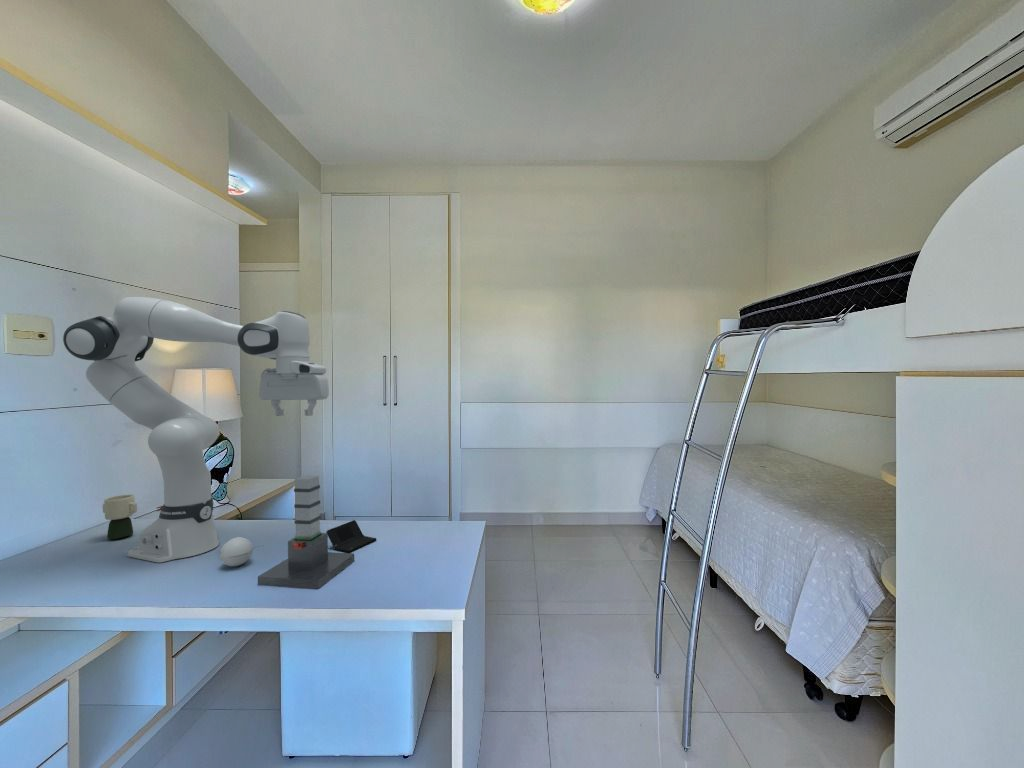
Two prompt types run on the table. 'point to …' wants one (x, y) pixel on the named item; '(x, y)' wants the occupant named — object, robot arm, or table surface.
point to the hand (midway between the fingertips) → (294, 415)
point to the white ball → (236, 551)
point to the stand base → (307, 565)
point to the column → (307, 508)
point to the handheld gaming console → (348, 537)
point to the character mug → (119, 515)
